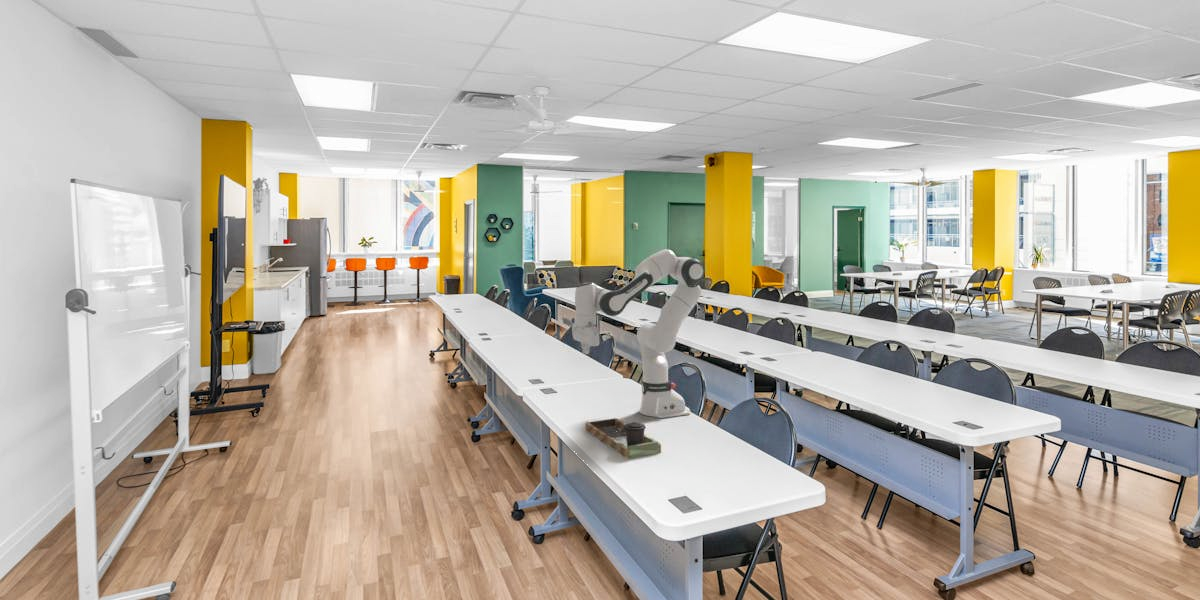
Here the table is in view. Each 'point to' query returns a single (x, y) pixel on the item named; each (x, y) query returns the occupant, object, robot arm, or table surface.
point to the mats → (613, 432)
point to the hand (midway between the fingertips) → (585, 353)
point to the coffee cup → (634, 433)
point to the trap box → (631, 451)
